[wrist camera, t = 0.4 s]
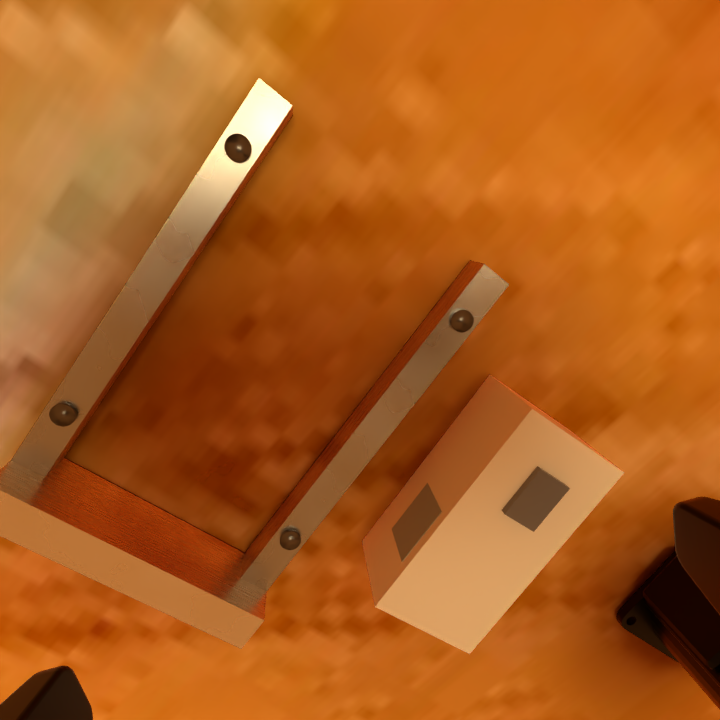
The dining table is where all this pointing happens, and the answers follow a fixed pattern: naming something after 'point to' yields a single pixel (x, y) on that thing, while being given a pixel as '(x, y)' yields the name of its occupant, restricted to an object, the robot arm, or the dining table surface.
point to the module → (482, 516)
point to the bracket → (155, 526)
